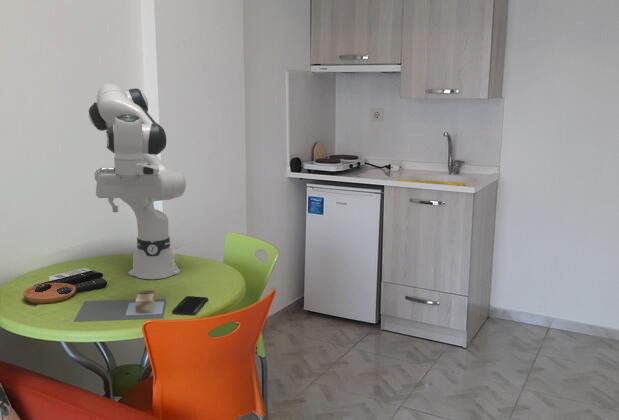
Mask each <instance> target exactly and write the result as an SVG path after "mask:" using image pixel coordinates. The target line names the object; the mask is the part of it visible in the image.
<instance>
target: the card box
mask: <svg viewBox="0 0 619 420" xmlns="http://www.w3.org/2000/svg"><path fill="white" fill-rule="evenodd" d="M135 299H136V301H135V305H136V314H140V313H153V308H154V304H155V299H156V298H155V290H138V291H137V296H136V298H135Z"/></svg>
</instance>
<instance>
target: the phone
mask: <svg viewBox="0 0 619 420" xmlns="http://www.w3.org/2000/svg"><path fill="white" fill-rule="evenodd" d="M208 301H209V298H208V297H207V296H206V297H205V296H194V295H193V296H192V295H191V296H190V295H188V296H185V297H184V298H182V300H181V301H180V302H179V303H178V304H177V305H176V306H175V307H174V308H173V309H172V310H171V314H172V315H177V316H178V315H179V316H191V317H192V316H193V317H194V316H196V315H197V314H198V313H199V312H200V311H201V309H202V308H203V307H204V306H205V305H206V304H207V303H208ZM206 302H207V303H206ZM205 303H206V304H205ZM204 304H205V305H204Z"/></svg>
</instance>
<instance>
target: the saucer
mask: <svg viewBox="0 0 619 420" xmlns="http://www.w3.org/2000/svg"><path fill="white" fill-rule="evenodd" d="M44 284H50V285H52V286H51V288H50V289H48V290H46V291H43V292H35V289H36V287H37V286H39V285H44ZM62 287H69V288H71V290H72V291H71V292H70V293H66V294H65V293H64V294H59V293H58V292H59V291H58V292H57V289H59V288H62ZM75 293H76V287H75V285H73V284H71V283H70V284H69V283H67V282H65V283H64V282H49V283H40V284H36V285H32V286H29V287H28V288H25V290H23V292H22V294H23V297H24V299H26V301H28V302H30V303H31V304H35V305H38V304H52V303H53V304H54V303H59V302H62V301H65V300H68V299H69V298H72V297H73V296H74V294H75Z"/></svg>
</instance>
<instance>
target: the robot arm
mask: <svg viewBox="0 0 619 420" xmlns="http://www.w3.org/2000/svg"><path fill="white" fill-rule="evenodd" d="M88 117H89V121H90V123H91V124H92V125H93V127H95V128H96V129H97V130H99V131H101V132H102V131H103V132H104V131H105V133H106V149H108V150H109V151H110V152H111V153H112V154H114V163H113V164H114V167H100V168H99V169H96V171H95V172H94V180H95V181H96V185H95V186H96V187H95V195H96V197H97V198H98V199H108V203H109V204H110V206H111V207H112V213H118V212H119V209H118V208H119V205H116V204H115V203H114V200H115V199H120V200H122V202H124V203H125V204H127V205H128V206H129V207H130V208H131V209H132V211H133V212H134V215H135V218H136V224H137V238H136V248H137V249H136V251H135V250H134V253H133V254H132V257H133V259H132V268H131V269H130V270H129V271H128V276H133V277H136V278H139V279H143V280H161V279H166V278H169V277H172V276H174V275H180V274H181V270H180V268H179V267H178V265H177V263H176V260H175V252H174V251H173V250H172V249H171V248H170V247H171V237H170V235H169V218H168V216H167V214H165V213H164V212H162V211H161V210H159V209H156V208H155V205H154V204H155V203H154V202H157V201H158V202H160V201H169V200H173V199H176V198H180V197H182V195H184V193H185V191H186V188H187V187H186V185H187V182H186V179H185V177H184V175H183V174H182V172H180V171H177V170H174V169H173V168H171V167H170V166H168V165H167V164H166V163H164V161H162V160H161V159H160V158H159V157H158V155H159V154H160V153H162V152H163V151H164V150H165V149H166V145H167V134H166V131H165V129H164V128H163V127H162V126H161V125H160V124H159V123H157V122H156V121H155V120H154V119H153V117H152V116H151V115H150V113H149V102H148V98H147V96H146V95H145V94H144V93H143V92H142V91H141V89H139V88H130V89H128V90H126V91H125V90H124V89H123V88H122V87H121V86H120V85H117V84H115V83H105V84H103V85H101V87H100V88H99V89H98V91H97V95H96V102H93V104H91V106H90V107H89V108H88Z"/></svg>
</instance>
